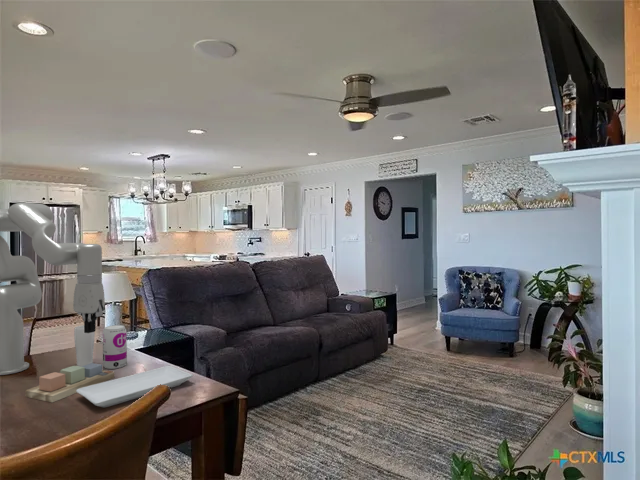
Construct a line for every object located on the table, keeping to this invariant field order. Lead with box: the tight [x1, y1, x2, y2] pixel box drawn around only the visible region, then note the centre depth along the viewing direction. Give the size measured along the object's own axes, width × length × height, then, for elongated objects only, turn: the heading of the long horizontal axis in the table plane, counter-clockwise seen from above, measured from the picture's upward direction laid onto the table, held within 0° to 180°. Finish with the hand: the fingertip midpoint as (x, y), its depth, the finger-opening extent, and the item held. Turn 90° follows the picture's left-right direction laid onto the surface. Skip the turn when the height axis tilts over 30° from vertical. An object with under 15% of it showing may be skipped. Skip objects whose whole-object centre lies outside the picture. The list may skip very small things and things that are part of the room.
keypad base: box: [24, 369, 116, 403], centre depth 140 cm, size 12×23×2 cm, turn 159°
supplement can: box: [102, 324, 128, 370], centre depth 161 cm, size 8×8×15 cm
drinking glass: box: [73, 324, 96, 367], centre depth 161 cm, size 7×7×15 cm
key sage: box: [59, 365, 85, 385], centre depth 140 cm, size 5×5×4 cm
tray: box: [76, 365, 194, 409], centre depth 137 cm, size 17×31×4 cm, turn 138°
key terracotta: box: [38, 371, 65, 393], centre depth 134 cm, size 5×5×4 cm
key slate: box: [82, 362, 103, 378], centre depth 147 cm, size 5×5×4 cm
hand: (89, 332), depth 146 cm, fingers closed
